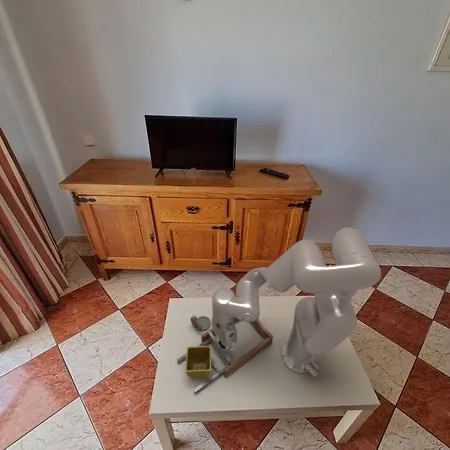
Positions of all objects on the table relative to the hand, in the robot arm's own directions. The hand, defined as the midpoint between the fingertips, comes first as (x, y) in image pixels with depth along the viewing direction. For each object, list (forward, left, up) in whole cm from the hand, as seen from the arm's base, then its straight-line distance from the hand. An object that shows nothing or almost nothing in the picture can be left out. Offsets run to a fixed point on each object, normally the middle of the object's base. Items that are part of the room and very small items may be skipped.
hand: (223, 346), depth 100 cm
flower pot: (-1, +11, -4) cm, 12 cm away
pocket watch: (+15, +1, -5) cm, 16 cm away
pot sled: (0, +9, -4) cm, 10 cm away
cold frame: (0, -6, -4) cm, 8 cm away
